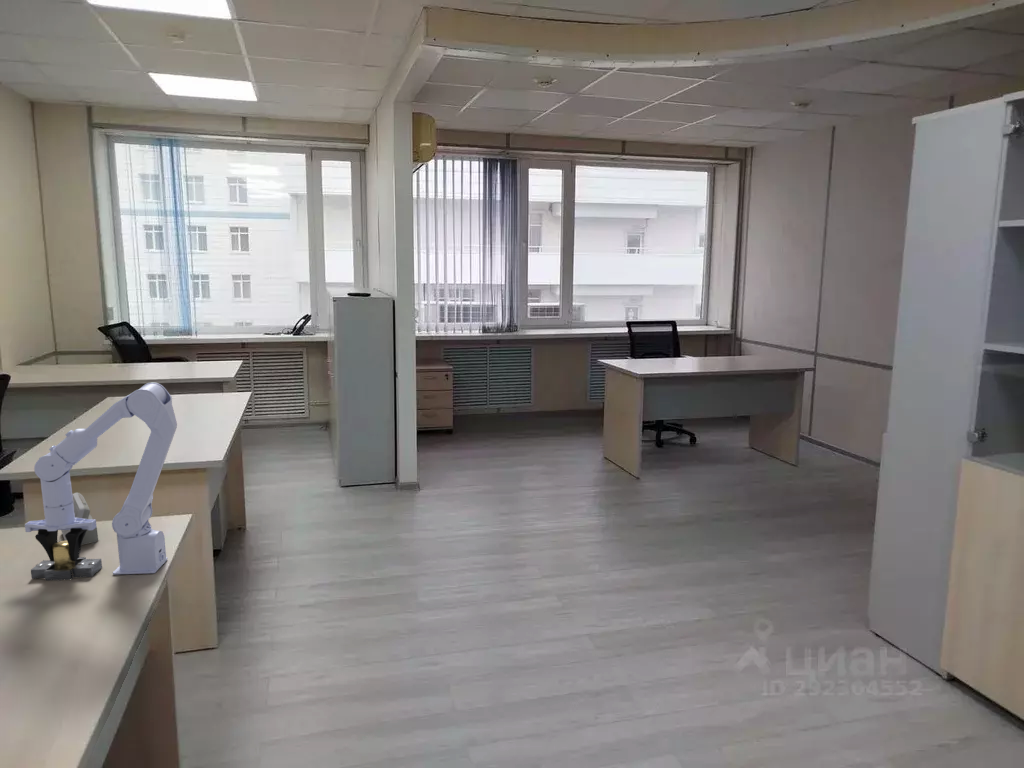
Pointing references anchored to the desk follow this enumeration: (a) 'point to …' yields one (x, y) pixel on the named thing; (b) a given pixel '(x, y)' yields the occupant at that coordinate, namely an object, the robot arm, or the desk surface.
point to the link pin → (62, 556)
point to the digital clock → (83, 512)
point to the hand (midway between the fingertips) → (64, 559)
